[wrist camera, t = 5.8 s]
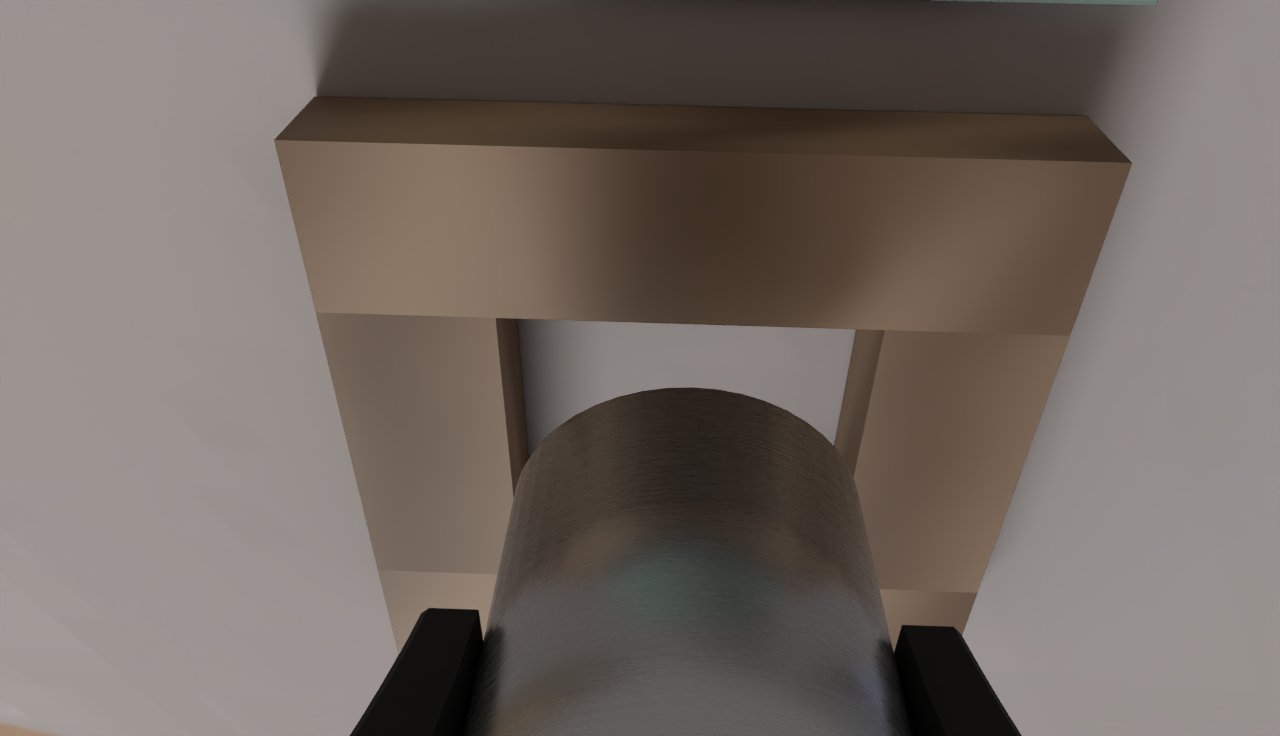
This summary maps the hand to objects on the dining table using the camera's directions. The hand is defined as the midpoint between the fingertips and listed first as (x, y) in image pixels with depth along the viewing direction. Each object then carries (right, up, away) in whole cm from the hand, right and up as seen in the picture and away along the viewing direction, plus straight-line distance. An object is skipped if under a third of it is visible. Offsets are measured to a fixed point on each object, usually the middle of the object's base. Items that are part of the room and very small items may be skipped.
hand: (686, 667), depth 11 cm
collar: (0, +3, +7) cm, 8 cm away
